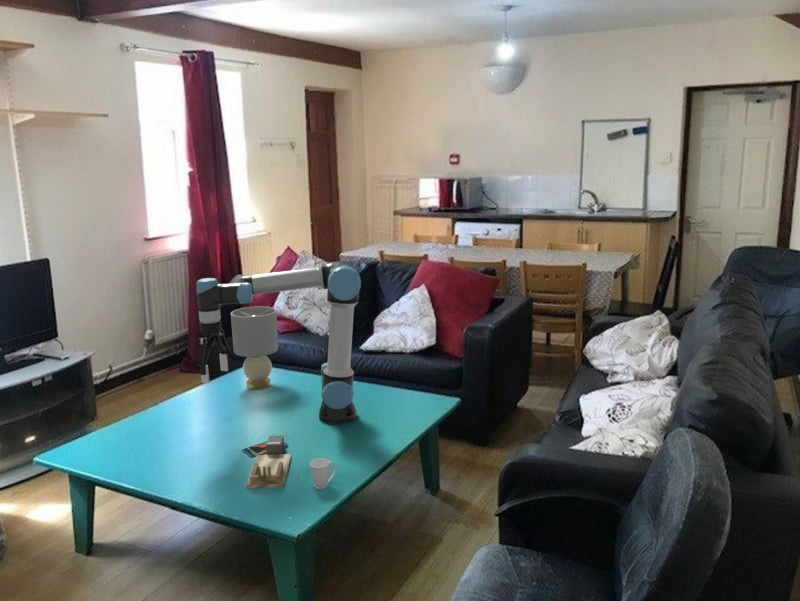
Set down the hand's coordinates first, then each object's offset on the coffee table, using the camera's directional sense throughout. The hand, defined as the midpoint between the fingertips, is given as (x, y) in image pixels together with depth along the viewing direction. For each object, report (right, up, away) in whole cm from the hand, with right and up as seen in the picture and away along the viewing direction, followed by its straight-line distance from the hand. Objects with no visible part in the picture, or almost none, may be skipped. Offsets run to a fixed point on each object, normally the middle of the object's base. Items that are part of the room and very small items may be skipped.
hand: (215, 376), depth 257 cm
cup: (+44, -32, -31) cm, 62 cm away
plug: (+24, -27, -7) cm, 36 cm away
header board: (+24, -30, -22) cm, 44 cm away
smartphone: (+19, -26, -4) cm, 33 cm away
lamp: (+4, -11, +62) cm, 63 cm away
